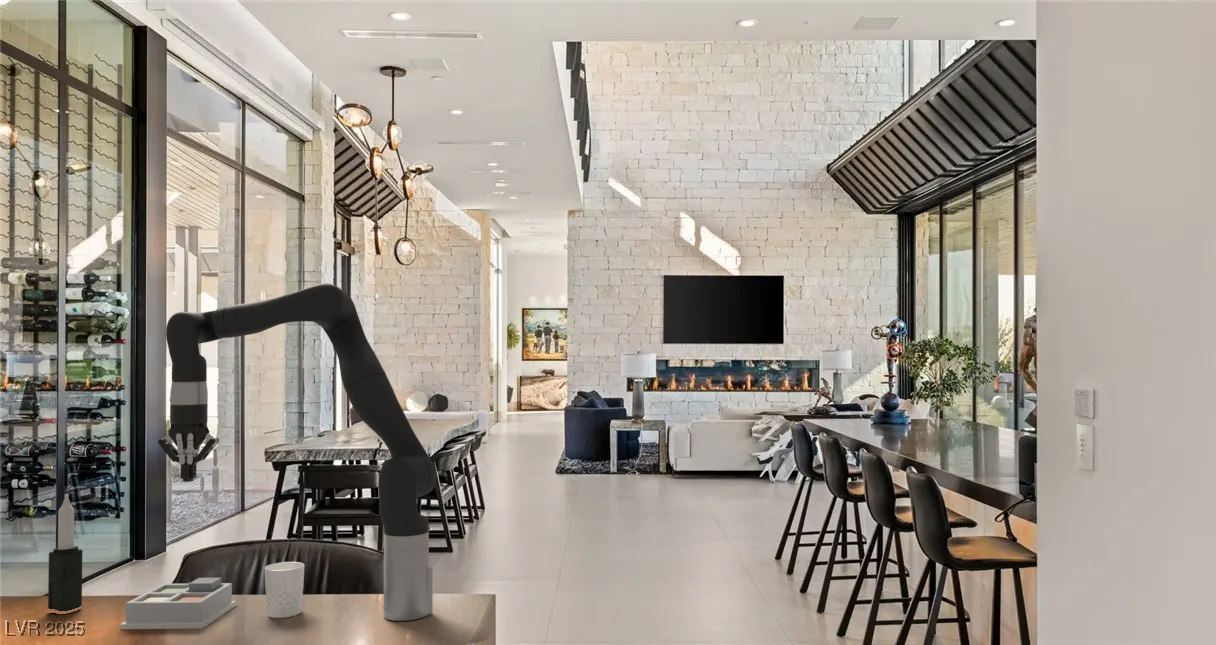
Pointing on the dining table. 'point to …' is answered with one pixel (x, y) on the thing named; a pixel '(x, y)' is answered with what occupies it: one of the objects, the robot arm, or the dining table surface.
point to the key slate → (205, 585)
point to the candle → (65, 564)
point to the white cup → (284, 589)
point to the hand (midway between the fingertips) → (188, 481)
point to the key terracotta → (191, 599)
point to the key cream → (157, 599)
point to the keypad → (177, 608)
